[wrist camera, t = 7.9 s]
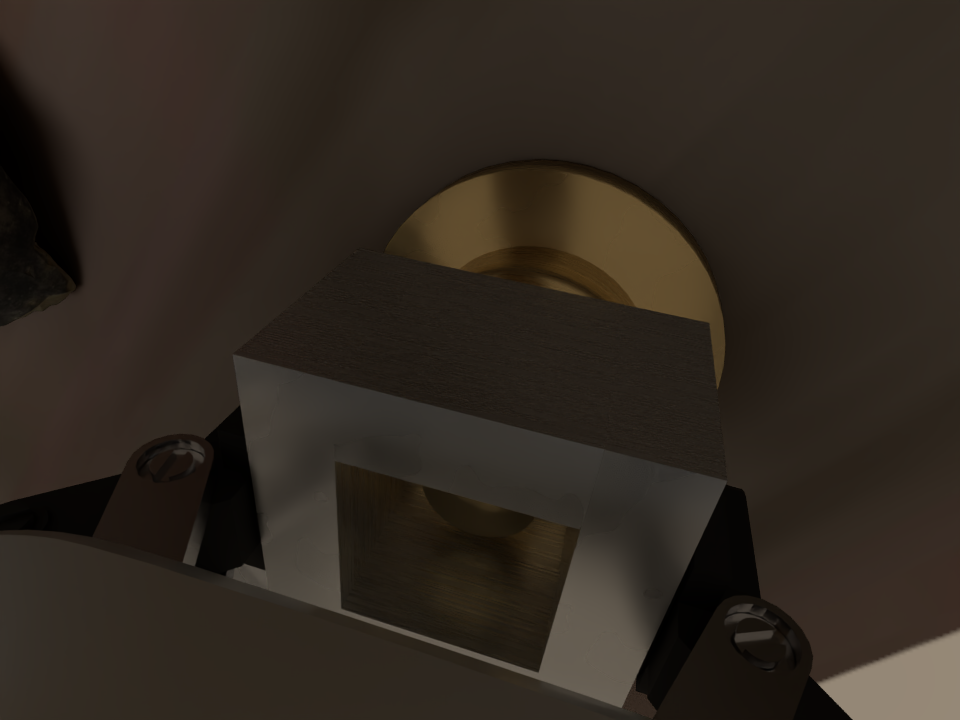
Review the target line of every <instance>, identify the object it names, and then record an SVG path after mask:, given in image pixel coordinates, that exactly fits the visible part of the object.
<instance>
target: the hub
mask: <svg viewBox="0 0 960 720" xmlns="http://www.w3.org/2000/svg"><path fill="white" fill-rule="evenodd" d="M384 253H386V254H390V255H395V256H400V257H404V258H409V259H414V260H418V261H423V262H428V263H432V264H437V265H442V266H446V267H451V268H456V269H460V270H465V271H470V272H474V273H479V274H484V275H488V276H493V277H498V278H502V279H507V280H512V281H516V282H521V283H526V284H530V285H535V286H540V287H544V288H549V289H554V290H558V291H563V292H568V293H572V294H577V295H582V296H586V297H591V298H596V299H600V300H605V301H610V302H614V303H619V304H624V305H628V306H633V307H637V308H642V309H647V310H651V311H656V312H661V313H665V314H670V315H675V316H679V317H684V318H689V319H693V320H698V321H703V322H707V323H709V324H710V332H711V341H712V350H713V359H714V368H715V376H716V385H717V389H718V387H719V383H720V379H721V374H722V370H723V366H724V355H725V333H724V321H723V315H722V308H721V302H720V298H719V294H718V290H717V285H716V281H715V278H714V276H713V274H712V271H711V269H710V266H709V264H708V261H707V259H706V257H705V255H704V254H703V252H702V251H701V249H700V247H699V246H698V244H697V242H696V241H695V239H694V237H693V236H692V235H691V234H690V232H689V231H688V230H687V229H686V228H685V226H684V225H683V224H682V223H681V222H680V220H679V219H678V218H677V217H676V216H675V215H674V214H673V213H671V212H670V211H669V210H668V209H667V208H666V207H665V206H664V205H663V204H662V203H660V202H659V201H658V200H657V199H655V198H654V197H652V196H651V195H649V194H648V193H646V192H645V191H643V190H642V189H641V188H639V187H638V186H636V185H634V184H632V183H630V182H628V181H626V180H624V179H622V178H620V177H618V176H616V175H614V174H611V173H608V172H605V171H602V170H599V169H596V168H593V167H590V166H586V165H581V164H576V163H571V162H566V161H555V160H525V161H512V162H508V163H503V164H499V165H494V166H490V167H487V168H484V169H481V170H479V171H476V172H473V173H471V174H468V175H466V176H464V177H462V178H460V179H458V180H457V181H455V182H453V183H451V184H449V185H448V186H446V187H445V188H443V189H442V190H441V191H439V192H438V193H437V194H436V195H434V196H433V197H432V198H430V199H429V200H428V201H427V202H425V203H424V204H423V205H422V206H421V207H420V208H418V209H417V210H416V211H415V212H414V213H413V214H412V215H411V216H410V217H409V218H408V219H407V220H406V221H405V222H404V223H403V224H402V225H401V226H400V228H399V229H398V230H397V232H396V233H395V235H394V236H393V238H392V239H391V240H390V242H389V243H388V245H387V247H386V249H385V251H384ZM422 488H423V492H424V494H425V497H426V499H427V500H428V502H429V504H430V505H431V507H432V508H433V509H434V510H435V511H436V512H437V513H438V514H439V515H440V516H441V517H442V518H443V519H444V520H446V521H447V522H448V523H450V524H452V525H453V526H455V527H457V528H459V529H461V530H463V531H466V532H468V533H471V534H475V535H479V536H485V537H504V536H509V535H513V534H516V533H518V532H520V531H522V530H523V529H525V528H526V527H528V526H529V525H530V524H531V522H532V521H533V520H534V518H535V517H534V516H530V515H526V514H523V513H519V512H516V511H512V510H509V509H505V508H502V507H498V506H494V505H491V504H487V503H484V502H480V501H477V500H473V499H469V498H466V497H462V496H459V495H455V494H452V493H448V492H444V491H441V490H437V489H434V488H430V487H427V486H423V485H422Z"/></svg>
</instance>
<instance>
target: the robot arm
mask: <svg viewBox="0 0 960 720" xmlns="http://www.w3.org/2000/svg"><path fill="white" fill-rule="evenodd" d="M243 564H246V565H249V566H253V567H256V568H259V569H262V570H265V563H264V557H263V550H262V543H261V537H260V530H259V524H258V517H257V511H256V504H255V498H254V491H253V485H252V478H251V472H250V465H249V459H248V452H247V446H246V439H245V432H244V426H243V419H242V413H241V406H239V407H238V408H237V409H236V410H235V411H234V412H232V413H231V414H230V415H229V416H228V417H227V418H226V419H225V420H224V421H223V422H222V423H221V424H220V425H219V426H218V427H217V428H216V429H215V430H214V431H213V432H211V433H210V434H209V435H208V436H207V437H206V438H205V439H204V438H201V437H198V436H195V435H189V434H176V435H168V436H164V437H161V438H157V439H154V440H152V441H150V442H148V443H146V444H144V445H143V446H141V447H140V448H139V449H138V450H136V451H135V452H134V453H133V454H132V456H131V457H130V459H129V460H128V461H127V463H126V466H125V468H124V470H123V472H122V474H119V475H115V476H111V477H107V478H103V479H99V480H95V481H91V482H87V483H83V484H79V485H75V486H70V487H66V488H62V489H58V490H54V491H50V492H46V493H42V494H38V495H34V496H30V497H26V498H22V499H18V500H14V501H10V502H7V503H4V504H1V505H0V720H852V719H851V718H850V717H849V716H848V715H847V714H846V713H845V712H844V710H842V708H841V707H839V705H837V703H836V702H834V700H833V699H832V698H831V697H829V695H828V694H827V693H826V692H825V691H824V690H823V689H822V688H821V687H820V686H819V685H818V684H817V683H816V682H815V681H814V680H813V679H812V678H811V677H810V676H809V674H810V672H811V669H812V661H813V655H812V651H811V647H810V643H809V641H808V639H807V638H806V636H805V634H804V632H803V631H802V629H801V628H800V627H799V626H798V625H797V623H796V622H795V621H794V620H793V619H792V618H791V617H790V616H789V615H788V614H786V613H785V612H784V611H782V610H781V609H780V608H778V607H777V606H775V605H773V604H771V603H769V602H767V601H765V600H763V599H761V596H760V589H759V583H758V576H757V569H756V562H755V555H754V549H753V542H752V535H751V528H750V522H749V515H748V508H747V501H746V496H745V493H744V491H743V490H742V489H739V488H736V487H732V486H728V485H725V487H724V489H723V492H722V494H721V496H720V498H719V500H718V502H717V504H716V507H715V509H714V511H713V513H712V515H711V517H710V519H709V522H708V524H707V526H706V528H705V530H704V532H703V534H702V537H701V539H700V541H699V543H698V545H697V547H696V549H695V552H694V554H693V556H692V558H691V560H690V562H689V564H688V567H687V569H686V571H685V573H684V575H683V577H682V579H681V582H680V584H679V586H678V588H677V590H676V592H675V594H674V597H673V599H672V601H671V603H670V605H669V607H668V609H667V611H666V614H665V616H664V618H663V620H662V622H661V624H660V626H659V629H658V631H657V633H656V635H655V637H654V639H653V641H652V644H651V646H650V648H649V650H648V652H647V654H646V656H645V659H644V661H643V663H642V665H641V667H640V669H639V671H638V674H637V677H636V691H638V692H641V693H644V694H647V698H648V699H649V701H650V702H651V703H652V705H653V706H654V708H655V709H656V710H657V712H656V714H655V716H654V717H653V719H651V718H648V717H645V716H643V715H640V714H637V713H634V712H631V711H628V710H626V709H623V708H620V707H617V706H614V705H612V704H609V703H606V702H603V701H600V700H597V699H595V698H592V697H589V696H586V695H583V694H580V693H577V692H574V691H571V690H568V689H565V688H562V687H559V686H556V685H553V684H550V683H547V682H544V681H541V680H538V679H535V678H532V677H529V676H526V675H523V674H520V673H517V672H514V671H511V670H508V669H505V668H502V667H500V666H497V665H494V664H491V663H488V662H485V661H482V660H479V659H476V658H473V657H470V656H467V655H464V654H461V653H458V652H455V651H452V650H449V649H446V648H443V647H440V646H437V645H434V644H431V643H428V642H425V641H422V640H419V639H416V638H413V637H410V636H406V635H403V634H400V633H397V632H394V631H391V630H388V629H385V628H382V627H379V626H376V625H373V624H370V623H367V622H364V621H361V620H358V619H355V618H352V617H349V616H346V615H343V614H340V613H337V612H334V611H331V610H328V609H325V608H322V607H318V606H315V605H312V604H309V603H306V602H303V601H300V600H297V599H294V598H291V597H288V596H285V595H282V594H278V593H275V592H272V591H269V590H266V589H263V588H260V587H257V586H254V585H251V584H248V583H245V582H241V581H238V580H235V579H233V576H234V569H235V568H238V567H241V566H243Z"/></svg>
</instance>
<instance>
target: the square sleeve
mask: <svg viewBox="0 0 960 720" xmlns="http://www.w3.org/2000/svg"><path fill="white" fill-rule="evenodd" d="M233 361H234V367H235V374H236V380H237V387H238V393H239V400H240V406H241V413H242V419H243V426H244V432H245V439H246V446H247V452H248V459H249V465H250V472H251V478H252V485H253V491H254V498H255V504H256V511H257V517H258V524H259V530H260V537H261V543H262V550H263V557H264V563H265V570H266V576H267V583H268V589H269V591H272V592H275V593H278V594H282V595H285V596H288V597H291V598H294V599H297V600H300V601H303V602H306V603H309V604H312V605H315V606H318V607H322V608H325V609H328V610H331V611H334V612H337V613H340V614H343V615H346V616H349V617H352V618H355V619H358V620H361V621H364V622H367V623H370V624H373V625H376V626H379V627H382V628H385V629H388V630H391V631H394V632H397V633H400V634H403V635H406V636H410V637H413V638H416V639H419V640H422V641H425V642H428V643H431V644H434V645H437V646H440V647H443V648H446V649H449V650H452V651H455V652H458V653H461V654H464V655H467V656H470V657H473V658H476V659H479V660H482V661H485V662H488V663H491V664H494V665H497V666H500V667H502V668H505V669H508V670H511V671H514V672H517V673H520V674H523V675H526V676H529V677H532V678H535V679H538V680H541V681H544V682H547V683H550V684H553V685H556V686H559V687H562V688H565V689H568V690H571V691H574V692H577V693H580V694H583V695H586V696H589V697H592V698H595V699H597V700H600V701H603V702H606V703H609V704H612V705H614V706H617V707H620V708H622V706H623V704H624V701H625V699H626V697H627V695H628V693H629V691H630V689H631V686H632V684H633V682H634V680H635V678H636V676H637V674H638V671H639V669H640V667H641V665H642V663H643V661H644V659H645V656H646V654H647V652H648V650H649V648H650V646H651V644H652V641H653V639H654V637H655V635H656V633H657V631H658V629H659V626H660V624H661V622H662V620H663V618H664V616H665V614H666V611H667V609H668V607H669V605H670V603H671V601H672V599H673V597H674V594H675V592H676V590H677V588H678V586H679V584H680V582H681V579H682V577H683V575H684V573H685V571H686V569H687V567H688V564H689V562H690V560H691V558H692V556H693V554H694V552H695V549H696V547H697V545H698V543H699V541H700V539H701V537H702V534H703V532H704V530H705V528H706V526H707V524H708V522H709V519H710V517H711V515H712V513H713V511H714V509H715V507H716V504H717V502H718V500H719V498H720V496H721V494H722V492H723V489H724V487H725V485H726V483H727V473H726V464H725V455H724V447H723V438H722V429H721V420H720V412H719V403H718V394H717V385H716V376H715V368H714V359H713V350H712V341H711V332H710V324H709V323H707V322H703V321H698V320H693V319H689V318H684V317H679V316H675V315H670V314H665V313H661V312H656V311H651V310H647V309H642V308H637V307H633V306H628V305H624V304H619V303H614V302H610V301H605V300H600V299H596V298H591V297H586V296H582V295H577V294H572V293H568V292H563V291H558V290H554V289H549V288H544V287H540V286H535V285H530V284H526V283H521V282H516V281H512V280H507V279H502V278H498V277H493V276H488V275H484V274H479V273H474V272H470V271H465V270H460V269H456V268H451V267H446V266H442V265H437V264H432V263H428V262H423V261H418V260H414V259H409V258H404V257H400V256H395V255H390V254H386V253H381V252H376V251H372V250H367V249H362V248H359V249H358V250H356V251H355V252H354V253H353V254H352V255H350V256H349V257H348V258H347V259H346V260H345V261H343V262H342V263H341V264H340V265H339V266H337V267H336V268H335V269H334V270H333V271H331V272H330V273H329V274H328V275H327V276H325V277H324V278H323V279H322V280H321V281H319V282H318V283H317V284H316V285H315V286H314V287H312V288H311V289H310V290H309V291H308V292H306V293H305V294H304V295H303V296H302V297H300V298H299V299H298V300H297V301H296V302H294V303H293V304H292V305H291V306H290V307H288V308H287V309H286V310H285V311H284V312H283V313H281V314H280V315H279V316H278V317H277V318H275V319H274V320H273V321H272V322H271V323H269V324H268V325H267V326H266V327H265V328H263V329H262V330H261V331H260V332H259V333H257V334H256V335H255V336H254V337H253V338H252V339H250V340H249V341H248V342H247V343H246V344H244V345H243V346H242V347H241V348H240V349H238V350H237V351H236V352H235V353H234V354H233ZM422 485H423V486H427V487H430V488H434V489H437V490H441V491H444V492H448V493H452V494H455V495H459V496H462V497H466V498H469V499H473V500H477V501H480V502H484V503H487V504H491V505H494V506H498V507H502V508H505V509H509V510H512V511H516V512H519V513H523V514H526V515H530V516H534V517H535V518H534V520H533V521H532V522H531V524H530V525H529V526H528V527H526V528H525V529H523V530H522V531H520V532H518V533H516V534H513V535H509V536H504V537H485V536H479V535H475V534H471V533H468V532H466V531H463V530H461V529H459V528H457V527H455V526H453V525H452V524H450V523H448V522H447V521H446V520H444V519H443V518H442V517H441V516H440V515H439V514H438V513H437V512H436V511H435V510H434V509H433V508H432V507H431V505H430V504H429V502H428V500H427V499H426V497H425V494H424V492H423V488H422Z"/></svg>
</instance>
